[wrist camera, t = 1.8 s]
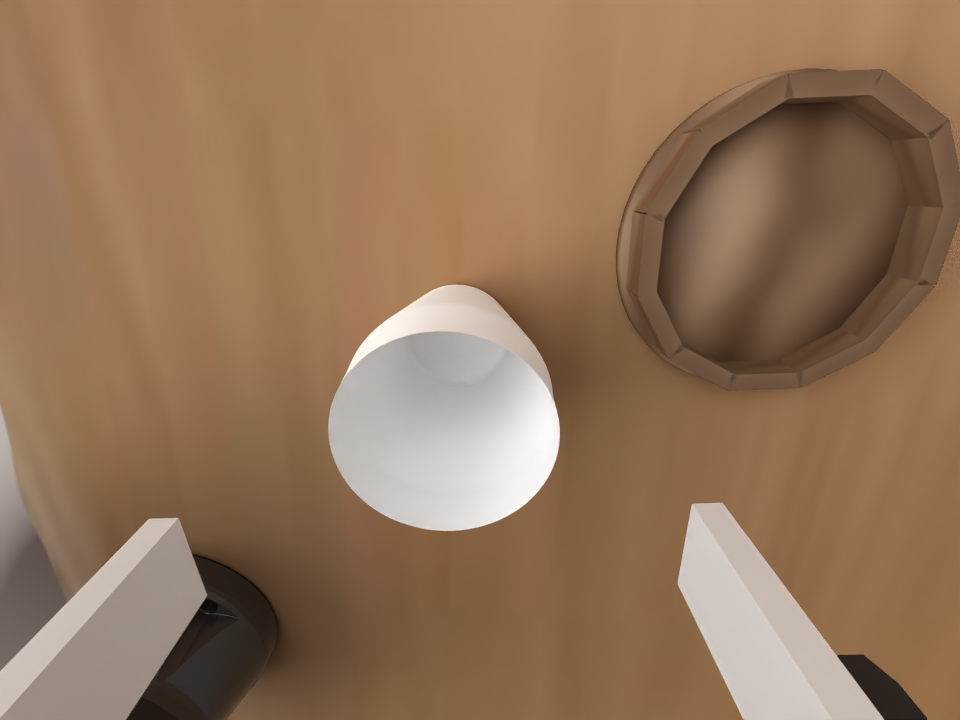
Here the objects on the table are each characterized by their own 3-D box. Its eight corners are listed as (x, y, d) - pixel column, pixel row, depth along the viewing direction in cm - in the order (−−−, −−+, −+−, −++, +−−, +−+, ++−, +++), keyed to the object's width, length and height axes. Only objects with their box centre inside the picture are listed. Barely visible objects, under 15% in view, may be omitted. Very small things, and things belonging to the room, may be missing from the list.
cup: (393, 251, 26) (328, 305, 15) (544, 278, 26) (592, 349, 15) (379, 389, 29) (318, 518, 18) (513, 410, 30) (535, 547, 19)
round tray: (605, 382, 29) (618, 401, 26) (629, 78, 23) (649, 66, 20) (867, 372, 29) (906, 391, 26) (966, 65, 22) (1030, 50, 20)
